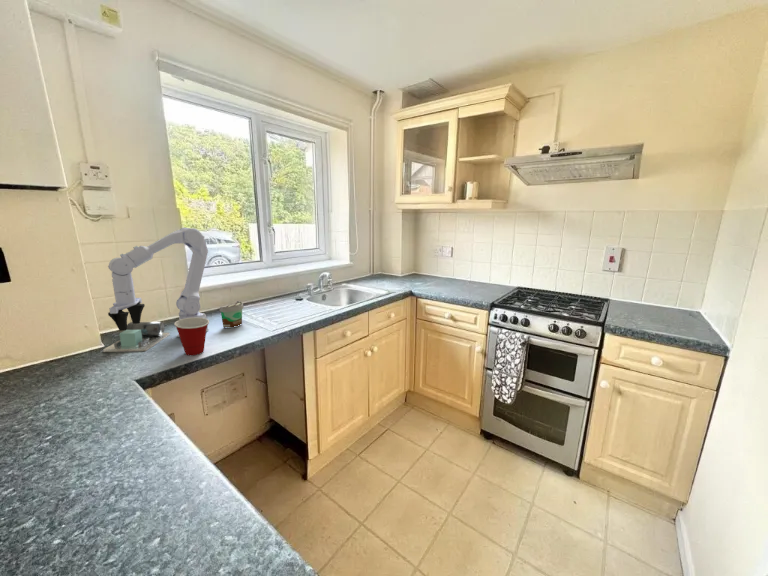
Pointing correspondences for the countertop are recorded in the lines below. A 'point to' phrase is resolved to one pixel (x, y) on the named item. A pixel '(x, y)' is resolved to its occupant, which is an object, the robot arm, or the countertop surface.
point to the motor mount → (150, 337)
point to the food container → (232, 314)
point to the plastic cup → (192, 334)
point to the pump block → (130, 337)
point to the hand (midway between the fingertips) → (129, 326)
